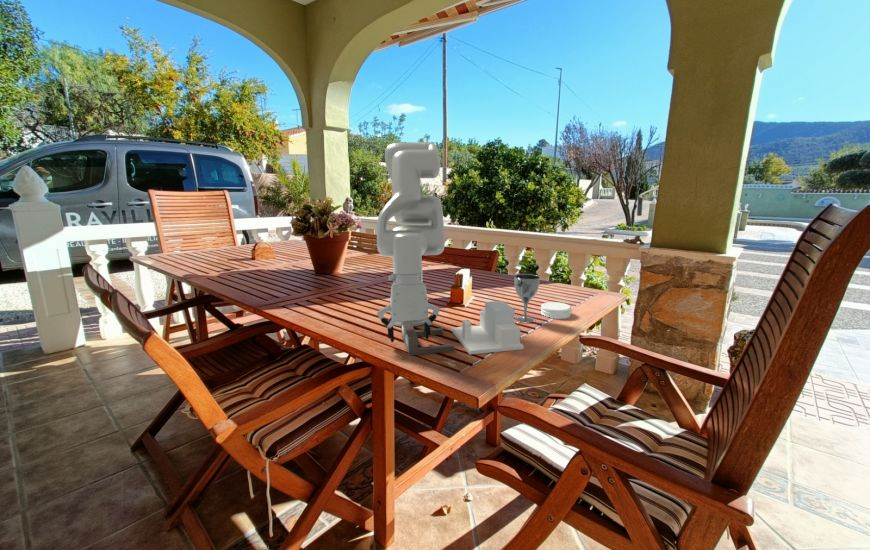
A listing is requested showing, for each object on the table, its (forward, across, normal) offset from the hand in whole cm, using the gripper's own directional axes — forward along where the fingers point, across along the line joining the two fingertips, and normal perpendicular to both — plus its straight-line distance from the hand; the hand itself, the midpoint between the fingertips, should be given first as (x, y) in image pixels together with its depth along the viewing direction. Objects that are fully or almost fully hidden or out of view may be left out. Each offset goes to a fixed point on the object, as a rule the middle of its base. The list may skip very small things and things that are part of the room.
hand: (409, 339), depth 107 cm
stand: (+2, +22, 0) cm, 22 cm away
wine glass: (+2, +41, +13) cm, 43 cm away
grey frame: (+2, +5, +1) cm, 6 cm away
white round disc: (+2, +54, +16) cm, 56 cm away
